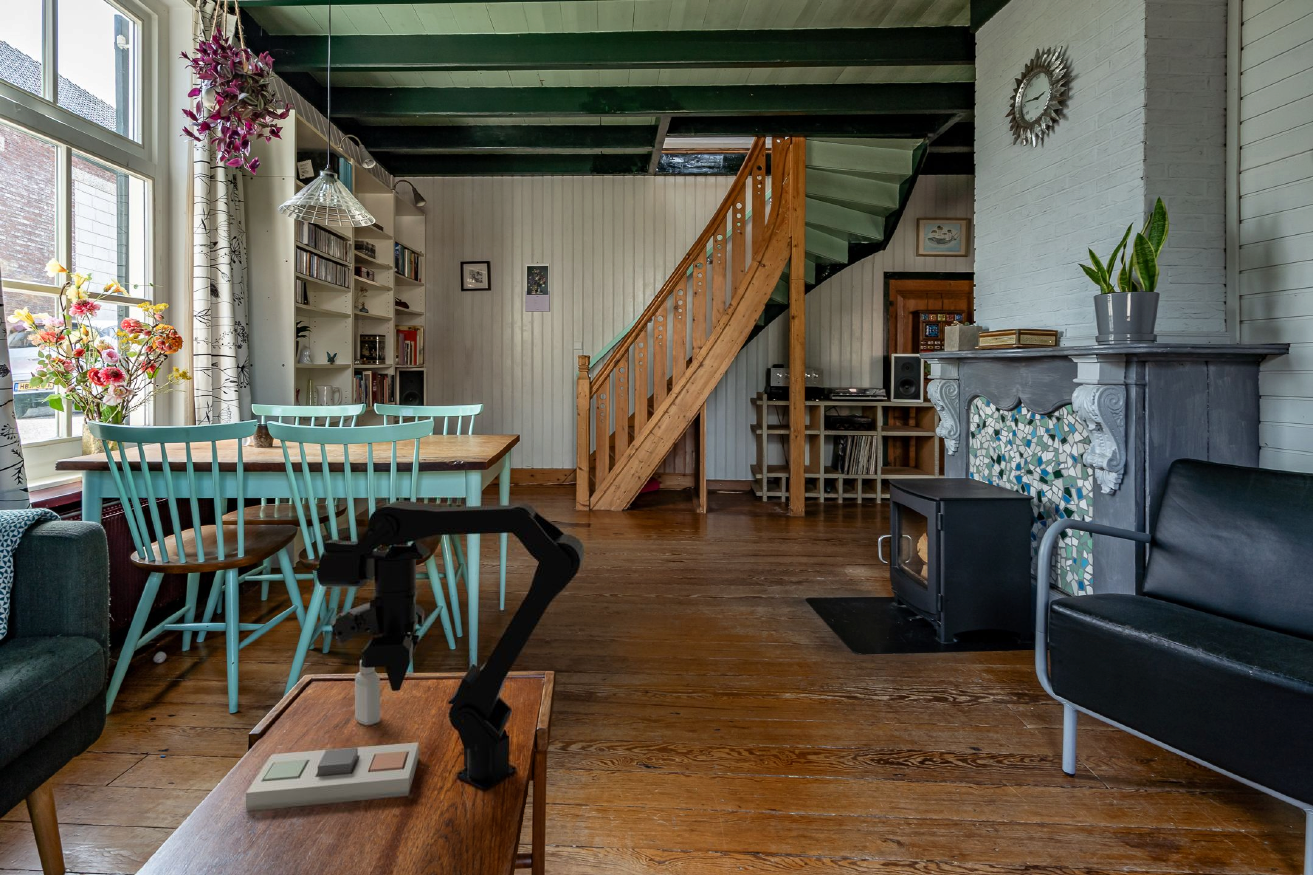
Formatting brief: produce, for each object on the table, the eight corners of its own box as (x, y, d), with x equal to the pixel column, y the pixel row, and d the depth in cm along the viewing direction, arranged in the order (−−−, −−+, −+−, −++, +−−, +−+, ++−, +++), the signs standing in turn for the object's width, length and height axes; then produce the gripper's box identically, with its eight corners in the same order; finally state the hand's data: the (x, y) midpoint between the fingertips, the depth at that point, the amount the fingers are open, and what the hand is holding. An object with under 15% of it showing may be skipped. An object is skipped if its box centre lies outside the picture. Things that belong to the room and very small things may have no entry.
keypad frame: (418, 758, 106) (418, 742, 106) (408, 795, 97) (408, 777, 96) (272, 770, 102) (271, 754, 102) (246, 811, 92) (245, 792, 92)
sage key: (307, 772, 100) (307, 759, 100) (298, 789, 96) (297, 775, 96) (275, 775, 100) (274, 761, 99) (264, 792, 95) (263, 778, 95)
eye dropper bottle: (351, 728, 115) (351, 659, 115) (356, 713, 121) (355, 647, 120) (379, 725, 117) (379, 657, 116) (382, 710, 122) (382, 645, 121)
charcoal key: (357, 760, 102) (357, 747, 102) (350, 776, 98) (350, 763, 97) (326, 762, 101) (326, 749, 101) (317, 779, 97) (317, 765, 97)
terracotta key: (406, 763, 103) (406, 750, 103) (402, 779, 99) (402, 766, 99) (376, 766, 102) (376, 753, 102) (370, 782, 98) (370, 769, 98)
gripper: (350, 572, 108) (351, 668, 109) (319, 609, 89) (321, 724, 90) (424, 570, 110) (424, 663, 111) (408, 605, 92) (409, 717, 93)
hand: (396, 689), depth 101 cm, fingers closed
